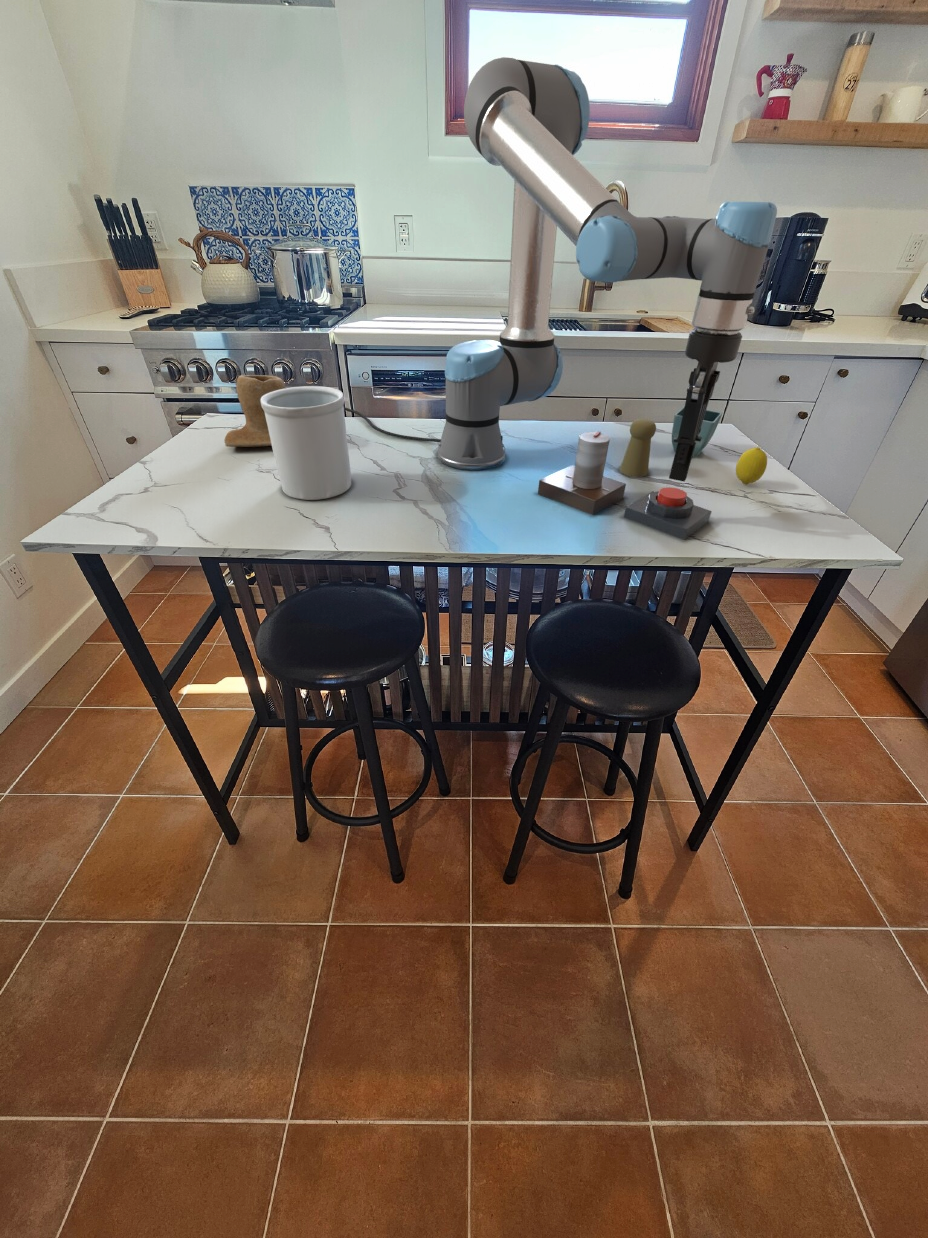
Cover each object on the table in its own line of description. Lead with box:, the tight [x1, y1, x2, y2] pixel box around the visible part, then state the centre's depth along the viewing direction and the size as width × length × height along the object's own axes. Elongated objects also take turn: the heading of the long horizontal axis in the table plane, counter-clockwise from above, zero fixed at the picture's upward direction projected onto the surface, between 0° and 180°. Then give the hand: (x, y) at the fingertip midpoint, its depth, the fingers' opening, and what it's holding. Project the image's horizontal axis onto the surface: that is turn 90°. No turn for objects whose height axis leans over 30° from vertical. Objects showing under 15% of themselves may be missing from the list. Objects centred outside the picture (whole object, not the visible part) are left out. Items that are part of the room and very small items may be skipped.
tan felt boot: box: [223, 374, 286, 448], centre depth 125 cm, size 15×12×15 cm
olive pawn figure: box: [619, 418, 657, 478], centre depth 116 cm, size 6×6×11 cm
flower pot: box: [671, 405, 723, 458], centre depth 127 cm, size 9×9×9 cm
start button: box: [657, 486, 688, 507], centre depth 99 cm, size 5×5×2 cm
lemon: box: [735, 446, 768, 486], centre depth 113 cm, size 6×6×8 cm
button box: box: [623, 490, 712, 541], centre depth 101 cm, size 12×10×4 cm
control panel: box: [537, 464, 627, 516], centre depth 108 cm, size 13×11×3 cm
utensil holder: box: [260, 385, 352, 501], centre depth 105 cm, size 15×15×18 cm
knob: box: [573, 430, 611, 489], centre depth 104 cm, size 6×6×9 cm
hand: (677, 478), depth 97 cm, fingers closed
